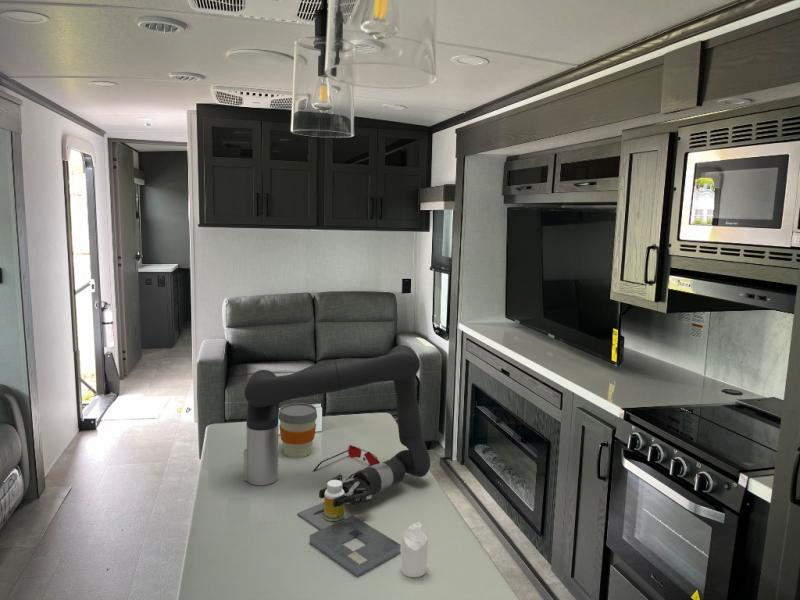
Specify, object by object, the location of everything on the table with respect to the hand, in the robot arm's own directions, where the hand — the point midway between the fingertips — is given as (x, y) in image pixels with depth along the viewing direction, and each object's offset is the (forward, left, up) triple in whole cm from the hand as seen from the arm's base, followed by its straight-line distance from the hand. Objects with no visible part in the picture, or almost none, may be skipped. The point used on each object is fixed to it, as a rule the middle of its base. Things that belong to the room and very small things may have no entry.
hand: (327, 498), depth 160 cm
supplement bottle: (+1, +2, -6) cm, 7 cm away
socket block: (+11, -10, -6) cm, 16 cm away
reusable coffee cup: (-25, +36, -6) cm, 44 cm away
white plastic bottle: (+27, -14, -6) cm, 31 cm away
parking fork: (+1, +2, -6) cm, 7 cm away
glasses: (-5, +29, -7) cm, 30 cm away
